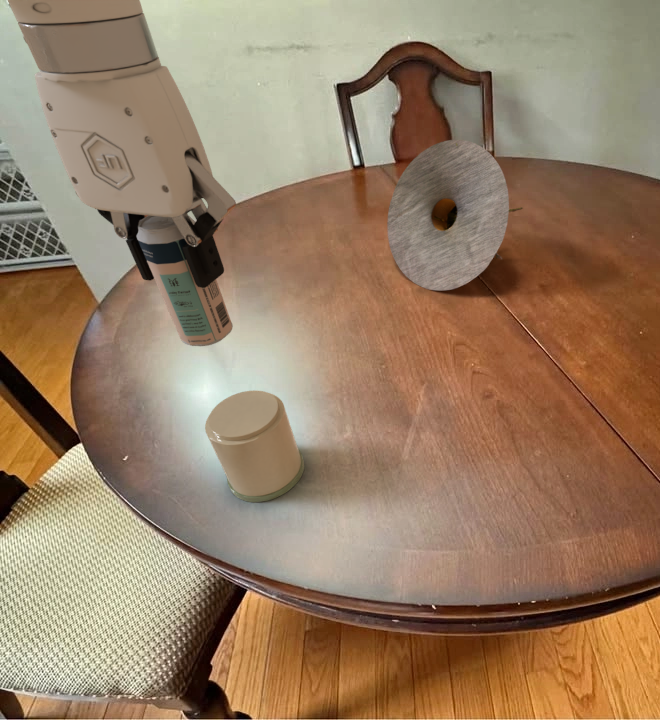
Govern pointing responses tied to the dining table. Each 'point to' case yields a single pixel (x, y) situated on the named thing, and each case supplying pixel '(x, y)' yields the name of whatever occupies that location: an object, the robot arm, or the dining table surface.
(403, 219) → the disc
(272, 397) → the cup
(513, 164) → the dining table surface
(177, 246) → the beer can
